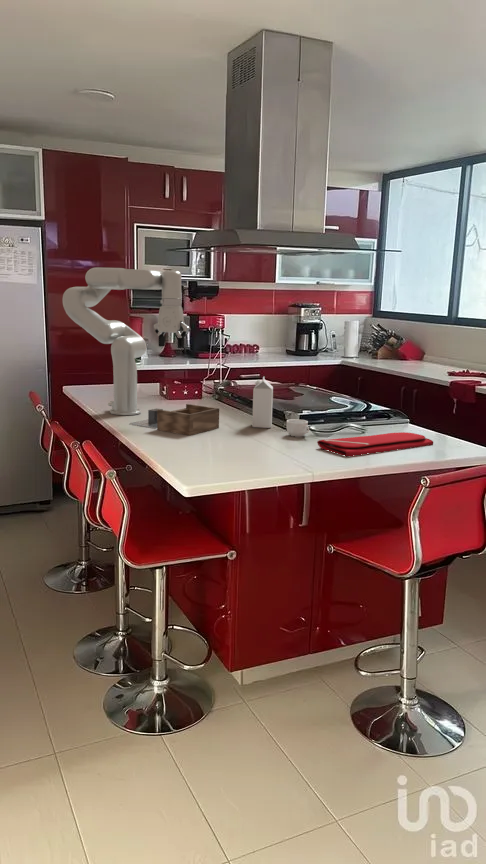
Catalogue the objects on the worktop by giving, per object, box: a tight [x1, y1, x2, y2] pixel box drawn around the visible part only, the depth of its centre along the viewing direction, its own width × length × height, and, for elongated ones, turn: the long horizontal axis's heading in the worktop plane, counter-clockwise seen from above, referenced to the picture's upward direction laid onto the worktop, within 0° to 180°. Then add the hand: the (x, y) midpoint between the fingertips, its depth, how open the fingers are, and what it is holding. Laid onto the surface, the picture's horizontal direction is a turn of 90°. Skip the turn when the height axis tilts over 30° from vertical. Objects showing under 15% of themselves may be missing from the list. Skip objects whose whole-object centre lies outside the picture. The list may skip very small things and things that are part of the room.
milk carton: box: [251, 375, 274, 429], centre depth 265 cm, size 7×7×19 cm
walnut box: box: [156, 403, 220, 436], centre depth 257 cm, size 15×18×8 cm
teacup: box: [286, 418, 310, 438], centre depth 250 cm, size 10×8×5 cm
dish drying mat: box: [316, 431, 434, 457], centre depth 238 cm, size 16×41×4 cm, turn 124°
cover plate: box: [129, 408, 164, 429], centre depth 266 cm, size 13×15×6 cm
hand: (171, 347), depth 274 cm, fingers open, 9 cm apart
